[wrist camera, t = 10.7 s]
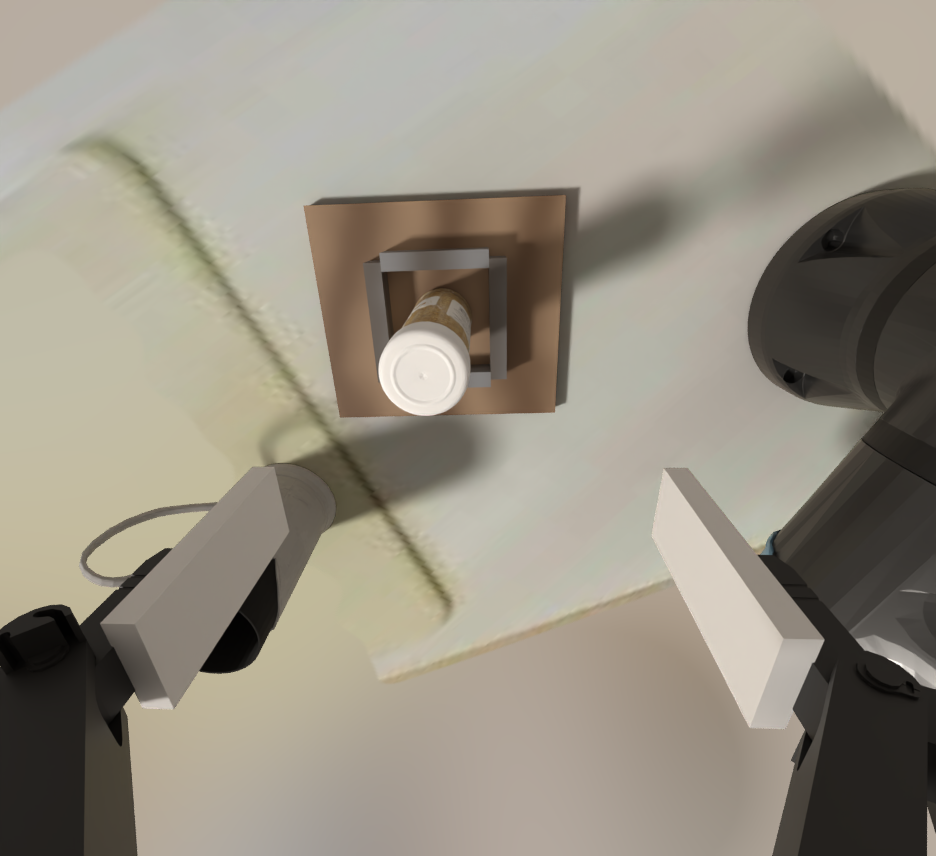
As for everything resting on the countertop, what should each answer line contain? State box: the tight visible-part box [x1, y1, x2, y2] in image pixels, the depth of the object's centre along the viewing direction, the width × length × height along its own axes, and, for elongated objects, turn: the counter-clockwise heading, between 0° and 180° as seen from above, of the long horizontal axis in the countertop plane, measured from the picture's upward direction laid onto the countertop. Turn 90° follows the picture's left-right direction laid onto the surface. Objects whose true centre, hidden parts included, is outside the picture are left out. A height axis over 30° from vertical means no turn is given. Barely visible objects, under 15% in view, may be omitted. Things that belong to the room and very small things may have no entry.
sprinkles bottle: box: [379, 288, 472, 416], centre depth 28 cm, size 5×5×13 cm
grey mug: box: [79, 463, 336, 674], centre depth 36 cm, size 9×14×15 cm, turn 64°
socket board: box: [304, 195, 566, 417], centre depth 34 cm, size 18×16×3 cm
